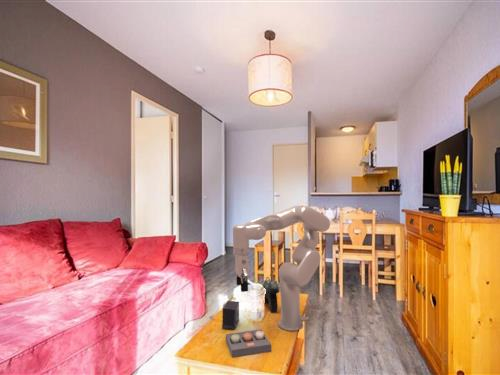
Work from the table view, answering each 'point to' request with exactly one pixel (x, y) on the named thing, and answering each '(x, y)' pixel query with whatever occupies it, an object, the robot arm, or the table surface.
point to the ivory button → (259, 335)
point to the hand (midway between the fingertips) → (242, 287)
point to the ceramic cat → (271, 294)
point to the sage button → (235, 338)
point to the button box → (248, 345)
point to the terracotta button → (247, 337)
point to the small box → (230, 315)
